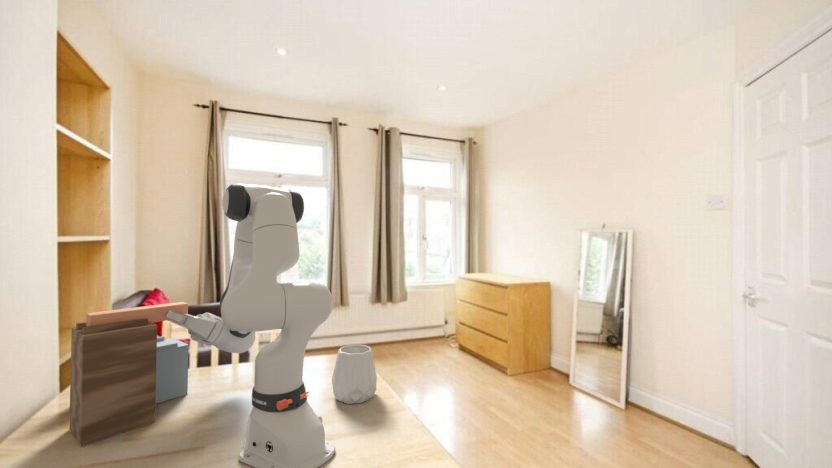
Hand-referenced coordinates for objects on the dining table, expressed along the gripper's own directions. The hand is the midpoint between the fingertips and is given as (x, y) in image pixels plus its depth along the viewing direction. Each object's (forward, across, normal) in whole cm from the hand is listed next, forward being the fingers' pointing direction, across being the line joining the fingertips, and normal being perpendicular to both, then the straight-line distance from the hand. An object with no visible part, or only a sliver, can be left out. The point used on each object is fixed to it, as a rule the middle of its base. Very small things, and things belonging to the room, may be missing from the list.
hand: (160, 311), depth 105 cm
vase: (-51, +35, +4) cm, 62 cm away
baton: (+3, 0, +4) cm, 5 cm away
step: (-18, -12, +22) cm, 31 cm away
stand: (-5, 0, +30) cm, 30 cm away
